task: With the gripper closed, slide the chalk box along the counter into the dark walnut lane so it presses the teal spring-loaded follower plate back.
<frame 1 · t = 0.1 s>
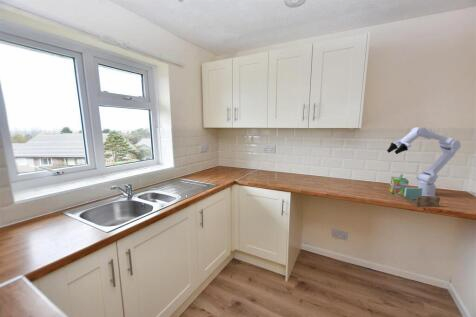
hand: (391, 152, 148), 32 cm above the worktop, tool tilted 50°, fingers open, 7 cm apart
chalk box: (397, 193, 156), on the worktop
lane: (414, 200, 141), on the worktop
follower: (412, 193, 142), point 4 cm above the worktop, slide at 0.0 cm
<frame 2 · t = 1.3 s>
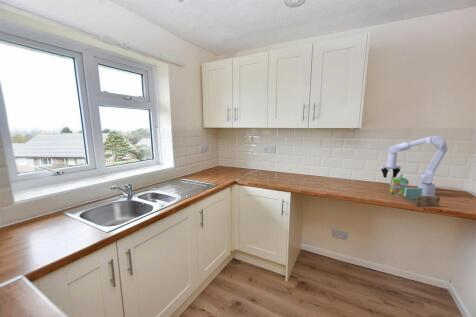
hand: (389, 177, 164), 10 cm above the worktop, tool pointing down, fingers open, 7 cm apart
nothing on the worktop moved.
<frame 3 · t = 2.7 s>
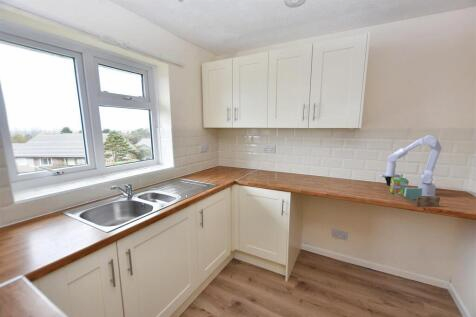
hand: (388, 185, 165), 3 cm above the worktop, tool pointing down, fingers closed
nothing on the worktop moved.
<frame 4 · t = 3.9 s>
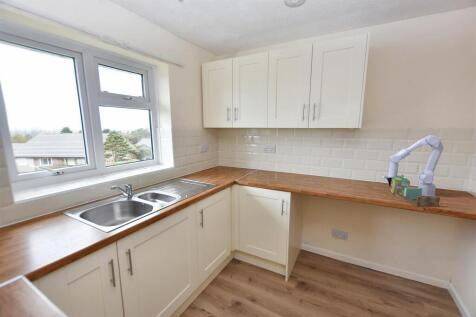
hand: (391, 187, 163), 2 cm above the worktop, tool pointing down, fingers closed
chalk box: (398, 193, 155), on the worktop, touching gripper
everything else where it was.
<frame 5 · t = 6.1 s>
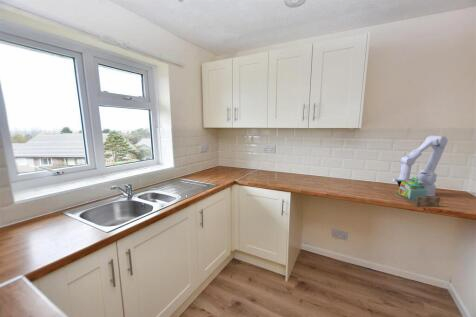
hand: (401, 191, 151), 3 cm above the worktop, tool pointing down, fingers closed, pressing on chalk box
chalk box: (407, 197, 147), on the worktop, touching gripper
follower: (417, 195, 139), point 4 cm above the worktop, slide at 3.6 cm
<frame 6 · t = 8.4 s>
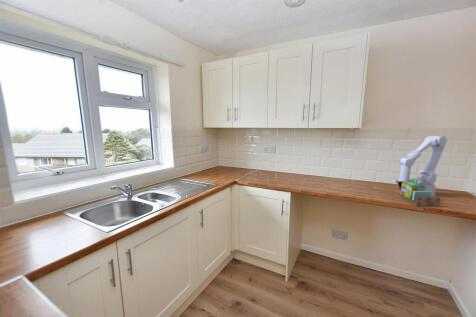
hand: (402, 191, 152), 2 cm above the worktop, tool pointing down, fingers closed
chalk box: (410, 199, 144), on the worktop
follower: (421, 197, 136), point 4 cm above the worktop, slide at 6.8 cm
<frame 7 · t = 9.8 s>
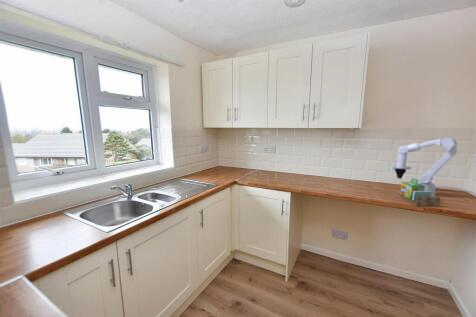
hand: (399, 178, 163), 9 cm above the worktop, tool pointing down, fingers closed
nothing on the worktop moved.
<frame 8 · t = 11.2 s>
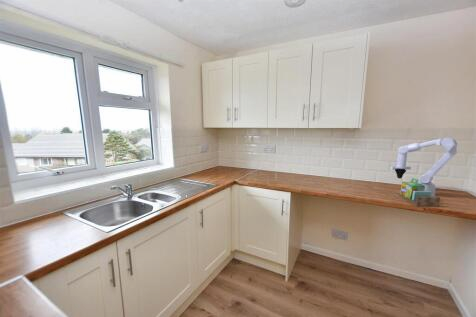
hand: (399, 178, 163), 9 cm above the worktop, tool pointing down, fingers closed
nothing on the worktop moved.
at the end: chalk box inside the target area (3.6 cm from its centre), on the worktop; follower slide at 6.8 cm; chalk box tilted 0° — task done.
